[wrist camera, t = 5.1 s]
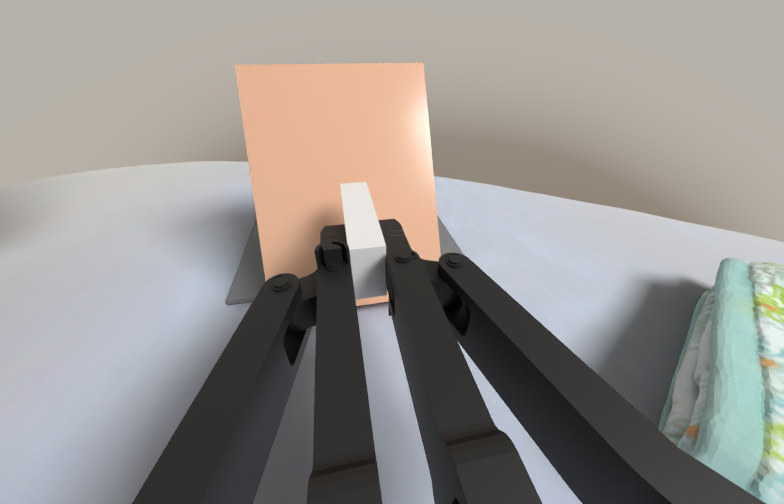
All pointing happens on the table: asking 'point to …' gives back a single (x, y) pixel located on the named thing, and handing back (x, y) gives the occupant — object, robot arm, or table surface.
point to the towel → (734, 380)
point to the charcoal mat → (253, 271)
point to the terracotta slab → (336, 154)
